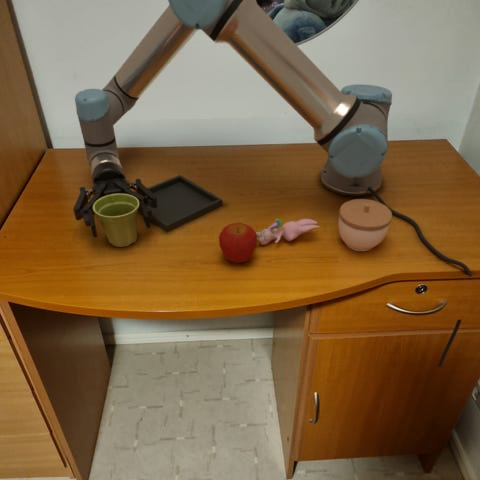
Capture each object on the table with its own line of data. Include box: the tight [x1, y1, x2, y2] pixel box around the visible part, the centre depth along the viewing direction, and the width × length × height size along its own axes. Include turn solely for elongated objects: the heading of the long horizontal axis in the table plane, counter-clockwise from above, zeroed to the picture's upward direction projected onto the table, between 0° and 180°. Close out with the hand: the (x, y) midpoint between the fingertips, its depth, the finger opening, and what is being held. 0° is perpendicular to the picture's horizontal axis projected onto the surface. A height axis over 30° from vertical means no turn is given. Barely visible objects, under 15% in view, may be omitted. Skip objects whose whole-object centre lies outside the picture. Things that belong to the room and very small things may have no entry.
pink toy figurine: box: [255, 218, 321, 246], centre depth 104 cm, size 6×6×15 cm
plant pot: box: [93, 194, 139, 248], centre depth 102 cm, size 9×9×9 cm
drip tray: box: [137, 174, 224, 233], centre depth 115 cm, size 17×17×2 cm
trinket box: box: [337, 198, 393, 252], centre depth 101 cm, size 11×11×9 cm
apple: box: [218, 222, 258, 264], centre depth 98 cm, size 8×8×8 cm
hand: (121, 227), depth 99 cm, fingers open, 10 cm apart
